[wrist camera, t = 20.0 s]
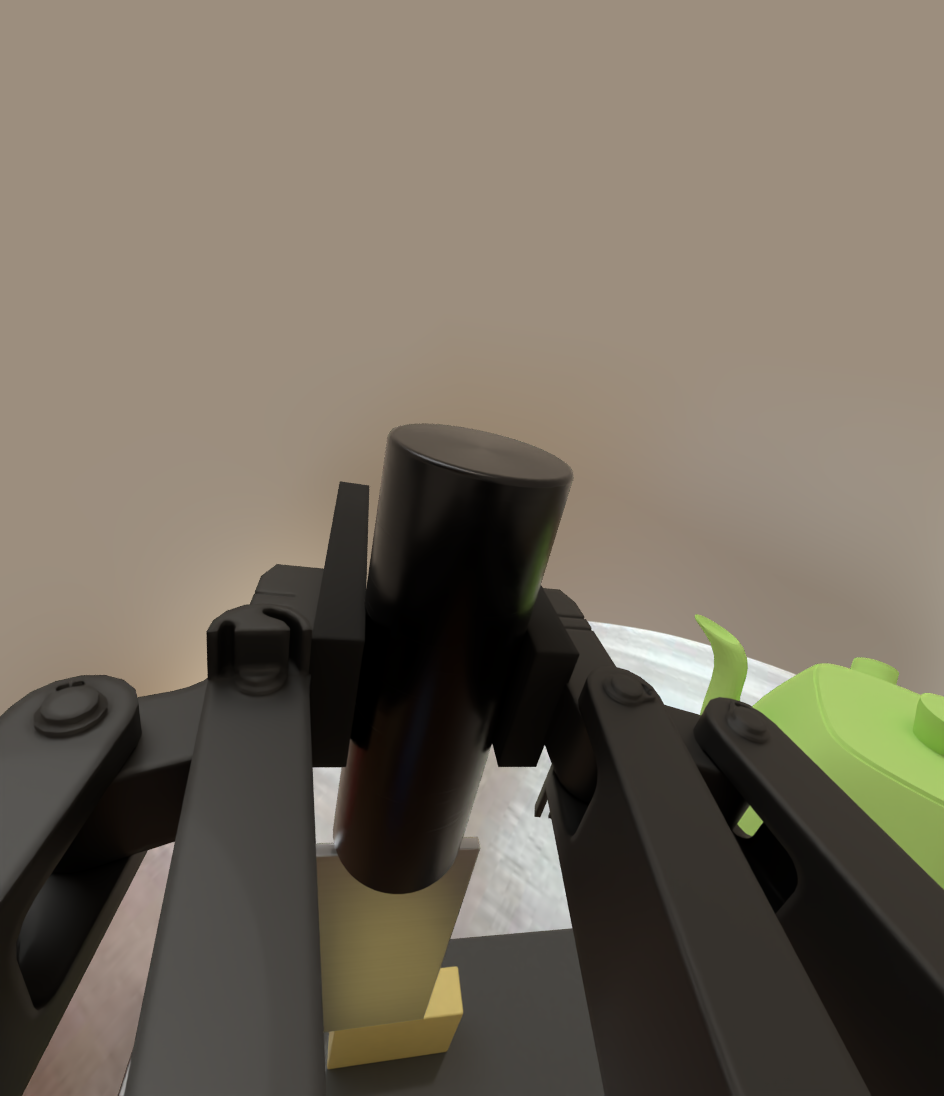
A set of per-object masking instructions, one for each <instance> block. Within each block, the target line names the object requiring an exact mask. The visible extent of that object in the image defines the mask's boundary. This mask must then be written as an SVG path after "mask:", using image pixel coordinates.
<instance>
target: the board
mask: <svg viewBox="0 0 944 1096" xmlns="http://www.w3.org/2000/svg"><path fill="white" fill-rule="evenodd" d="M446 967H458V972H459V980H460V989H461V997H462V1005H463V1015H462V1017H461V1020H460V1022H459V1025H458V1027H457V1029H456V1032H455V1034H454V1036H453V1039H452V1041H451V1043H450V1046H449V1048H448V1050H447V1051H446V1052H441V1053H435V1054H428V1055H421V1056H414V1057H408V1058H401V1059H394V1060H387V1061H381V1062H374V1063H367V1064H361V1065H354V1066H347V1067H340V1068H334V1069H327V1059H328V1043H329V1032H324V1050H325V1073H326V1096H605V1094H604V1089H603V1084H602V1079H601V1073H600V1068H599V1063H598V1058H597V1053H596V1047H595V1042H594V1037H593V1032H592V1027H591V1021H590V1016H589V1011H588V1006H587V1001H586V996H585V990H584V985H583V980H582V975H581V970H580V964H579V959H578V954H577V949H576V944H575V938H574V933H573V928H572V929H561V930H549V931H538V932H527V933H515V934H504V935H493V936H482V937H470V938H459V939H450V941H449V944H448V947H447V950H446V953H445V956H444V959H443V962H442V965H441V968H446ZM133 1048H134V1047H133ZM132 1052H133V1050H132ZM131 1057H132V1053H131V1056H130V1059H129V1062H128V1065H127V1069H126V1072H125V1075H124V1078H123V1081H122V1084H121V1087H120V1090H119V1093H118V1096H124V1092H125V1087H126V1082H127V1077H128V1072H129V1067H130V1062H131Z"/></svg>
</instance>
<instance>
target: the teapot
mask: <svg viewBox="0 0 944 1096" xmlns="http://www.w3.org/2000/svg"><path fill="white" fill-rule="evenodd" d="M695 619H696V621H697V622H698V624H699V625H700V627H701V628H702V629H703V631H704V633H705V634H706V636H707V638H708V639H709V641H710V642H711V646H712V650H713V653H714V669H713V674H712V678H711V681H710V684H709V687H708V690H707V693H706V696H705V699H704V702H703V705H702V709H701V713H700V715H702V713H703V711H704V709H705V708H706V706H707V704H708V703H709V701H710V700H711V699H714V698H718V697H723V698H731V699H734V700H738V701H740V696H741V692H742V688H743V685H744V682H745V679H746V675H747V669H748V667H747V657H746V654H745V651H744V649H743V647H742V645H741V644H740V643H739V641H738V640H737V639H736V638H735V637H734V636H733V635H732V634H730V633H729V632H728V631H727V630H725V629H724V628H722V627H721V626H719V625H718V624H716V623H715V622H713V621H711V620H709V619H707V618H706V617H703V616H701V615H697V614H696V615H695ZM898 675H899V672H898V671H897V670H896V669H894V668H893V667H891V666H889V665H887V664H885V663H882V662H880V661H876V660H873V659H868V658H855V659H854V660H853V662H852V665H851V668H850V669H849V668H845V667H842V666H838V665H833V664H816V665H814V666H812V667H810V668H809V669H806V670H804V671H803V672H801V673H799V674H797V675H796V676H794V677H792V678H791V679H789V680H787V681H786V682H784V683H782V684H781V685H779V686H778V687H776V688H775V689H773V690H772V691H770V692H769V693H768V694H766V695H765V696H764V697H762V698H761V699H760V700H759V701H758V702H757V703H755V704H754V705H753V706H752V707H753V708H754V709H756V710H758V711H760V712H761V713H763V714H764V715H765V716H766V717H768V718H769V719H770V720H771V721H772V722H774V723H775V724H776V725H777V726H778V727H779V728H780V729H781V730H782V731H783V732H784V733H785V734H786V735H787V736H788V737H789V738H790V739H791V740H792V741H793V742H794V743H795V744H796V745H797V746H798V747H799V748H800V749H801V750H802V751H803V752H804V753H805V754H806V755H807V756H808V757H809V758H810V759H811V760H812V761H813V762H814V763H816V764H817V765H818V766H819V767H820V768H821V769H822V770H823V771H824V772H825V773H826V774H827V775H828V776H829V777H830V778H831V779H832V780H833V781H834V782H835V783H836V784H837V785H838V786H839V787H840V788H841V789H842V790H843V791H844V792H845V793H846V794H847V795H848V796H849V797H850V798H851V799H852V800H853V801H854V802H855V803H856V804H857V805H858V806H859V807H860V808H861V809H862V810H863V811H864V812H865V813H866V814H867V815H868V816H869V817H870V818H871V819H872V820H873V821H874V822H876V823H877V824H878V825H879V826H880V827H881V828H882V829H883V830H884V831H885V832H886V833H887V834H888V835H889V836H890V837H891V838H892V839H893V840H894V841H895V842H896V843H897V844H898V845H899V846H900V847H901V848H902V849H903V850H904V851H905V852H906V853H907V854H908V855H909V856H910V857H911V858H912V859H913V860H914V861H915V862H916V863H917V864H918V865H919V866H920V867H921V868H922V869H923V870H924V871H925V872H926V873H927V874H928V875H929V876H930V877H931V878H932V879H933V880H935V881H936V882H937V883H938V884H939V885H940V886H941V887H942V888H943V889H944V697H943V696H939V695H936V694H931V693H924V694H922V695H919V694H917V693H914V692H912V691H910V690H907V689H905V688H902V687H900V686H897V685H896V683H897V679H898ZM762 823H763V821H762V820H761V819H760V817H759V816H758V815H757V814H756V812H755V811H754V810H753V809H752V808H751V806H749V808H748V809H747V810H746V812H745V813H744V815H743V816H742V818H741V819H740V821H739V822H738V823H737V824H738V826H739V827H740V828H741V829H742V830H743V831H744V832H745V833H746V834H748V835H750V836H753V835H754V834H755V832H756V831H757V830H758V828H759V827H760V826H761V824H762Z"/></svg>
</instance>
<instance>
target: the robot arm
mask: <svg viewBox="0 0 944 1096" xmlns="http://www.w3.org/2000/svg"><path fill="white" fill-rule="evenodd" d="M368 510H369V486H368V485H361V484H354V483H347V482H340V484H339V489H338V495H337V500H336V506H335V511H334V517H333V522H332V528H331V533H330V539H329V544H328V550H327V555H326V561H325V566H324V569H321V568H310V567H300V566H289V565H280V564H277V565H275V566H274V567H273V568H271V569H270V570H269V571H268V572H266V573H265V574H263V575H262V576H261V578H260V580H259V583H258V586H257V588H256V590H255V594H254V595H253V598H252V600H251V603H250V604H249V605H243V606H240V607H237V608H234V609H231V610H228V611H226V612H224V613H223V614H222V615H220V616H219V617H217V618H216V619H214V620H213V622H212V623H211V625H210V627H209V629H208V630H207V667H208V678H207V679H205V680H204V681H202V682H199V683H197V684H194V685H192V686H190V687H187V688H183V689H179V690H175V691H170V692H165V693H159V694H154V695H148V696H143V697H138V698H137V694H136V690H135V689H134V688H133V687H132V686H130V685H129V684H128V683H127V682H126V681H124V680H122V679H118V678H114V677H110V676H107V675H84V676H77V677H72V678H68V679H64V680H59V681H55V682H53V683H50V684H48V685H46V686H44V687H41V688H39V689H37V690H34V691H32V692H30V693H29V694H27V695H26V696H25V697H23V698H22V699H21V700H19V701H18V702H16V703H15V704H14V705H12V706H11V707H10V708H9V709H8V710H7V711H6V712H5V713H4V714H2V715H1V716H0V1096H22V1094H23V1092H24V1090H25V1088H26V1086H27V1085H28V1083H29V1081H30V1079H31V1077H32V1075H33V1073H34V1071H35V1069H36V1067H37V1065H38V1063H39V1061H40V1059H41V1057H42V1055H43V1053H44V1051H45V1049H46V1048H47V1046H48V1044H49V1042H50V1040H51V1038H52V1036H53V1034H54V1032H55V1030H56V1028H57V1026H58V1024H59V1022H60V1020H61V1018H62V1016H63V1014H64V1012H65V1011H66V1009H67V1007H68V1005H69V1003H70V1001H71V999H72V997H73V995H74V993H75V991H76V989H77V987H78V985H79V983H80V981H81V979H82V977H83V975H84V974H85V972H86V970H87V968H88V966H89V964H90V962H91V960H92V958H93V956H94V954H95V952H96V950H97V948H98V946H99V944H100V942H101V940H102V938H103V937H104V935H105V933H106V931H107V929H108V927H109V925H110V923H111V921H112V919H113V917H114V915H115V913H116V911H117V909H118V907H119V905H120V903H121V901H122V900H123V898H124V896H125V894H126V892H127V890H128V888H129V886H130V884H131V882H132V880H133V878H134V876H135V874H136V872H137V870H138V868H139V866H140V864H141V863H142V861H143V859H144V857H145V855H146V853H147V851H148V850H150V849H153V848H156V847H159V846H162V845H165V844H168V843H171V842H175V845H174V850H173V855H172V860H171V864H170V869H169V874H168V879H167V884H166V889H165V894H164V899H163V904H162V909H161V914H160V919H159V924H158V929H157V934H156V939H155V944H154V949H153V954H152V958H151V963H150V968H149V973H148V978H147V983H146V988H145V993H144V998H143V1003H142V1008H141V1013H140V1018H139V1023H138V1028H137V1033H136V1038H135V1043H134V1048H133V1052H132V1057H131V1062H130V1067H129V1072H128V1077H127V1082H126V1087H125V1092H124V1096H326V1073H325V1050H324V1026H323V1003H322V979H321V956H320V932H319V909H318V886H317V862H316V839H315V815H314V792H313V768H312V767H346V765H347V758H348V751H349V744H350V737H351V731H352V724H353V717H354V710H355V703H356V697H357V690H358V683H359V676H360V669H361V662H362V656H363V649H364V642H365V595H366V578H367V577H366V576H367V544H368ZM492 744H493V748H494V752H495V756H496V760H497V763H498V767H536V766H537V763H538V760H539V758H540V755H541V753H542V750H543V748H544V745H545V746H546V749H547V752H548V755H549V757H550V760H551V763H552V765H551V767H550V770H549V772H548V775H547V777H546V779H545V782H544V784H543V787H542V789H541V792H540V794H539V797H538V799H537V802H536V804H535V816H534V817H541V814H542V812H543V809H544V807H545V805H546V802H547V800H548V804H549V809H550V813H549V816H548V818H551V819H552V824H553V830H554V835H555V840H556V845H557V850H558V855H559V861H560V866H561V871H562V876H563V881H564V887H565V892H566V897H567V902H568V907H569V913H570V918H571V923H572V928H573V933H574V938H575V944H576V949H577V954H578V959H579V964H580V970H581V975H582V980H583V985H584V990H585V996H586V1001H587V1006H588V1011H589V1016H590V1021H591V1027H592V1032H593V1037H594V1042H595V1047H596V1053H597V1058H598V1063H599V1068H600V1073H601V1079H602V1084H603V1089H604V1094H605V1096H944V889H943V888H942V887H941V886H940V885H939V884H938V883H937V882H936V881H935V880H933V879H932V878H931V877H930V876H929V875H928V874H927V873H926V872H925V871H924V870H923V869H922V868H921V867H920V866H919V865H918V864H917V863H916V862H915V861H914V860H913V859H912V858H911V857H910V856H909V855H908V854H907V853H906V852H905V851H904V850H903V849H902V848H901V847H900V846H899V845H898V844H897V843H896V842H895V841H894V840H893V839H892V838H891V837H890V836H889V835H888V834H887V833H886V832H885V831H884V830H883V829H882V828H881V827H880V826H879V825H878V824H877V823H876V822H874V821H873V820H872V819H871V818H870V817H869V816H868V815H867V814H866V813H865V812H864V811H863V810H862V809H861V808H860V807H859V806H858V805H857V804H856V803H855V802H854V801H853V800H852V799H851V798H850V797H849V796H848V795H847V794H846V793H845V792H844V791H843V790H842V789H841V788H840V787H839V786H838V785H837V784H836V783H835V782H834V781H833V780H832V779H831V778H830V777H829V776H828V775H827V774H826V773H825V772H824V771H823V770H822V769H821V768H820V767H819V766H818V765H817V764H816V763H814V762H813V761H812V760H811V759H810V758H809V757H808V756H807V755H806V754H805V753H804V752H803V751H802V750H801V749H800V748H799V747H798V746H797V745H796V744H795V743H794V742H793V741H792V740H791V739H790V738H789V737H788V736H787V735H786V734H785V733H784V732H783V731H782V730H781V729H780V728H779V727H778V726H777V725H776V724H775V723H774V722H772V721H771V720H770V719H769V718H768V717H766V716H765V715H764V714H763V713H761V712H760V711H758V710H756V709H754V708H753V707H752V706H750V705H748V704H746V703H744V702H740V701H738V700H734V699H731V698H723V697H718V698H714V699H711V700H710V701H709V703H708V704H707V706H706V708H705V709H704V711H703V713H702V715H698V714H694V713H691V712H687V711H684V710H680V709H677V708H673V707H670V706H667V705H664V704H663V702H662V700H661V698H660V696H659V695H658V694H657V692H656V691H655V690H654V688H653V687H652V686H651V685H650V684H648V683H647V682H646V681H645V680H643V679H642V678H641V677H639V676H637V675H635V674H633V673H631V672H630V671H628V670H625V669H621V668H617V667H616V666H615V664H614V663H613V661H612V660H611V658H610V656H609V655H608V653H607V652H606V650H605V649H604V647H603V645H602V644H601V642H600V641H599V639H598V638H597V636H596V634H595V633H594V631H591V626H590V625H589V623H588V622H587V620H586V619H584V615H583V614H582V612H581V611H580V609H579V608H578V606H577V605H576V603H575V602H574V601H573V600H572V599H570V598H569V597H568V596H567V595H565V594H564V593H563V592H562V591H561V590H557V589H546V588H543V587H542V586H541V585H540V589H539V592H538V595H537V598H536V602H535V605H534V608H533V611H532V615H531V618H530V621H529V624H528V628H527V631H526V634H525V637H524V641H523V644H522V647H521V650H520V654H519V657H518V660H517V663H516V667H515V670H514V673H513V676H512V680H511V683H510V686H509V690H508V693H507V696H506V699H505V703H504V706H503V709H502V712H501V716H500V719H499V722H498V725H497V729H496V732H495V735H494V738H493V742H492ZM749 806H751V808H752V809H753V810H754V811H755V812H756V814H757V815H758V816H759V817H760V819H761V820H762V821H763V823H762V824H761V826H760V827H759V828H758V830H757V831H756V832H755V834H754V835H753V836H750V835H748V834H746V833H745V832H744V831H743V830H742V829H741V828H740V827H739V826H738V824H737V823H738V822H739V821H740V819H741V818H742V816H743V815H744V813H745V812H746V810H747V809H748V808H749Z"/></svg>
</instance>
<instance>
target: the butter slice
mask: <svg viewBox="0 0 944 1096" xmlns="http://www.w3.org/2000/svg"><path fill="white" fill-rule="evenodd" d="M462 1015H463V1005H462V997H461V989H460V980H459V972H458V967H446V968H440V971H439V974H438V977H437V980H436V983H435V986H434V989H433V992H432V995H431V998H430V1001H429V1004H428V1007H427V1010H426V1013H425V1016H424V1019H420V1020H413V1021H405V1022H398V1023H391V1024H383V1025H376V1026H368V1027H361V1028H354V1029H346V1030H339V1031H331V1032H329V1043H328V1059H327V1069H334V1068H340V1067H347V1066H354V1065H361V1064H367V1063H374V1062H381V1061H387V1060H394V1059H401V1058H408V1057H414V1056H421V1055H428V1054H435V1053H441V1052H446V1051H447V1050H448V1048H449V1046H450V1043H451V1041H452V1039H453V1036H454V1034H455V1032H456V1029H457V1027H458V1025H459V1022H460V1020H461V1017H462Z"/></svg>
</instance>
